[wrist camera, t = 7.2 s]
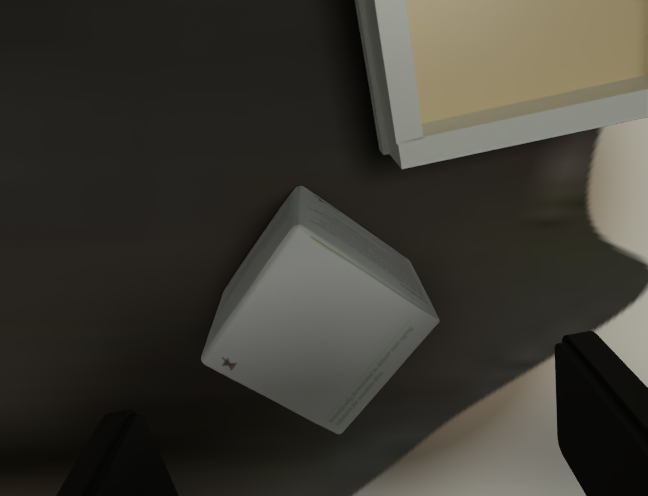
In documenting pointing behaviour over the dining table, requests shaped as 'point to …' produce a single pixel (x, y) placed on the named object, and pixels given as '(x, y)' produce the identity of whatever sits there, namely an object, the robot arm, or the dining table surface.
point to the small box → (318, 314)
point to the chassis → (499, 71)
